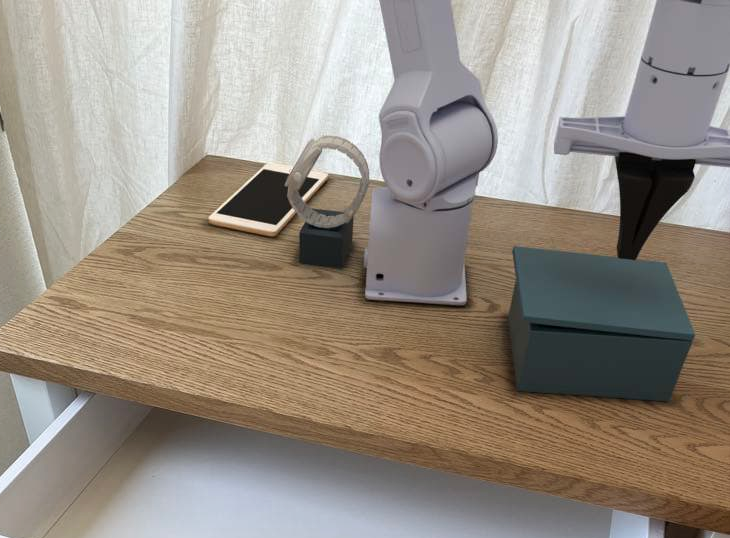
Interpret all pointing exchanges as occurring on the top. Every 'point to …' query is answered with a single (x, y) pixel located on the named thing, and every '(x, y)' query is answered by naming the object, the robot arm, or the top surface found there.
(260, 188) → the cell phone
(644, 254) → the top surface
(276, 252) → the top surface
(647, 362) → the chest
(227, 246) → the top surface
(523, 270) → the lid
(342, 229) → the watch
